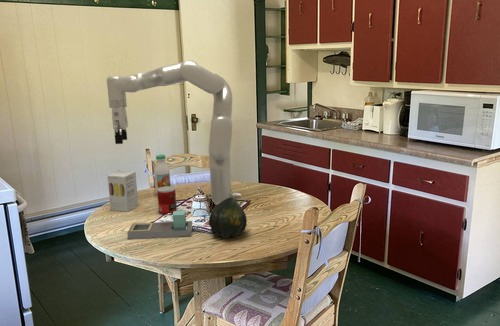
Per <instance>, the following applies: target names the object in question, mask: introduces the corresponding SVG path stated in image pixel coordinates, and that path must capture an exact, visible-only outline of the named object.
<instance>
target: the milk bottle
mask: <svg viewBox="0 0 500 326" xmlns="http://www.w3.org/2000/svg"><path fill="white" fill-rule="evenodd" d="M155 159H156V164H155V167H154V173H153V175H154V188H155V190H154V191H155V194H156V195H157V196H158V194H157V189H158V188H160V187H165V186H171V174H170V173H171V172H170V168H169V166H168V164H167V162H166V155H165V154H157V155H155ZM171 187H172V186H171Z"/></svg>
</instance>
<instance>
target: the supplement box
mask: <svg viewBox="0 0 500 326" xmlns="http://www.w3.org/2000/svg"><path fill="white" fill-rule="evenodd" d="M136 175H137V174H136V171H129V170H126V171H125V170H117V171H115V172H113V173H109V174H107V183H108V184H107V186H108V196H109V206H110V211H112V212H113V211H115V212H124V213H128V212H130V211H132V210H134V209H135V208H137V207H138V206H139V197H138V186H137V185H138V184H137V176H136Z"/></svg>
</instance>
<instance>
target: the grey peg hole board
mask: <svg viewBox="0 0 500 326" xmlns="http://www.w3.org/2000/svg"><path fill="white" fill-rule="evenodd" d="M192 224H193V220H186V226H187V229H174V227H173V221H159V222H158V221H157V222H155V221H154V222H138V223H137V222H136V223H135V222H134V223H132V224H131V226H130V227H129V230H128V231H127V239H128V240H139V239H140V240H141V239H143V240H144V239H160V238H161V239H162V238H164V239H165V238H183V237H184V238H185V237H191V236H192V232H193V227H192Z"/></svg>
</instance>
